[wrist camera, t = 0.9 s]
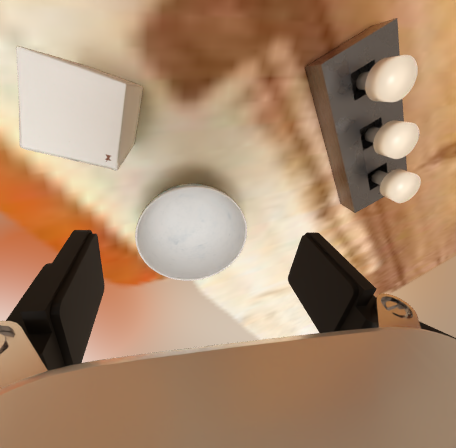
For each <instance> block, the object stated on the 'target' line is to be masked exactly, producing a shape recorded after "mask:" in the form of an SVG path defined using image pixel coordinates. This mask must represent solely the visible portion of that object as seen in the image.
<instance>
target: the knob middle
mask: <svg viewBox="0 0 456 448" xmlns="http://www.w3.org/2000/svg"><path fill="white" fill-rule="evenodd" d="M418 138H419V128H418V126H417V125H416V124H414V123H410V122H403V121H396V120H393V121H389V122H387V123H385V124H384V125H383V126H382V127H381V128H377V127H371V128H369V129H368V130H367V131H366V133H365V140H366V141H369V142H373V147H374V150H375V152H376V153H378V154H380V155H383V156H387V157H390V158H393V159H400V158H403V157H405V156H406V155H408V154H409V153H410V152H411V151H412V150H413V148H414V147H415V145H416V144H417V141H418Z"/></svg>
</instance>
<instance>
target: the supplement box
mask: <svg viewBox="0 0 456 448" xmlns="http://www.w3.org/2000/svg"><path fill="white" fill-rule="evenodd" d="M16 51H17V71H18V90H19V130H20V147H21V148H23V149H26V150H31V151H35V152H40V153H44V154H48V155H53V156H57V157H62V158H66V159H70V160H73V161H78V162H83V163H87V164H92V165H96V166H100V167H105V168H109V169H113V170H118V169H119V167H120V166H121V164H122V163H123V161H124V159H125V158H126V156H127V155H128V153H129V152H130V150H131V149H132V147H133V146H134V144H135V138H136V131H137V125H138V119H139V112H140V105H141V99H142V92H143V87H142V86H141V85H138V84H135V83H132V82H130V81H127V80H124V79H122V78H119V77H116V76H113V75H111V74H108V73H105V72H102V71H99V70H96V69H93V68H91V67H88V66H84V65H81V64H78V63H75V62H72V61H69V60H65V59H62V58H59V57H55V56H52V55H48V54H45V53H41V52H37V51H34V50H31V49H27V48H24V47H20V46H17V47H16Z"/></svg>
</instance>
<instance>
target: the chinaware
mask: <svg viewBox="0 0 456 448" xmlns="http://www.w3.org/2000/svg"><path fill="white" fill-rule="evenodd" d="M246 236H247V225H246V220H245V217H244V214H243V212H242V210H241V209H240V207H239V206H238V205H237V203H236V202H235V201H234V200H233V199H232V198H230V197H229V196H228V195H226V194H225V193H223V192H222V191H220V190H218V189H216V188H213V187H210V186H207V185H202V184H183V185H179V186H175V187H172V188H170V189H168V190H166V191H164V192H162V193H161V194H159V195H158V196H157V197H155V198H154V199H153V200H152V201H151V202H150V203H149V204H148V206H147V207H146V208H145V210H144V211H143V213H142V214H141V216H140V218H139V221H138V223H137V227H136V234H135V238H136V245H137V249H138V251H139V254H140V256H141V257H142V259H143V260H144V261H145V263H146V264H147V265H148V266H149V267H150V268H152V269H153V270H154V271H156V272H157V273H159V274H161V275H163V276H166V277H169V278H172V279H177V280H199V279H204V278H207V277H210V276H213V275H215V274H217V273H219V272H221V271H223V270H224V269H226V268H227V267H228V266H229V265H231V264H232V263H233V262H234V261H235V259H236V258H237V257H238V256H239V254H240V253H241V251H242V249H243V247H244V244H245V241H246Z"/></svg>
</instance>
